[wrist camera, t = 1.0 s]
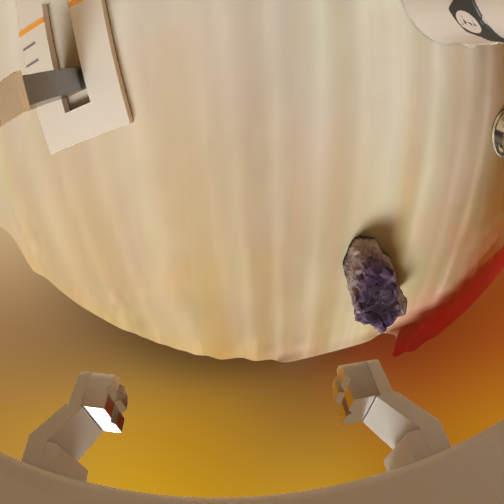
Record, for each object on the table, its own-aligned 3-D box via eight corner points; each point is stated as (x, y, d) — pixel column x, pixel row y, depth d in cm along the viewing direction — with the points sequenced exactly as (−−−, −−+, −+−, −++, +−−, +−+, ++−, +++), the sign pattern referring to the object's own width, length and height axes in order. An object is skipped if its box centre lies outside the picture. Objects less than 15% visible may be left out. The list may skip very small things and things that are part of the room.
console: (133, 121, 36) (129, 124, 35) (56, 151, 37) (50, 154, 36) (98, -43, 20) (93, -46, 19) (21, 1, 21) (15, 0, 20)
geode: (319, 253, 52) (342, 287, 43) (374, 220, 50) (405, 247, 42) (353, 320, 62) (372, 353, 53) (397, 293, 60) (421, 322, 52)
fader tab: (91, 89, 33) (24, 111, 19) (66, 100, 33) (-4, 129, 20) (84, 62, 30) (14, 71, 17) (59, 74, 30) (-14, 92, 17)
